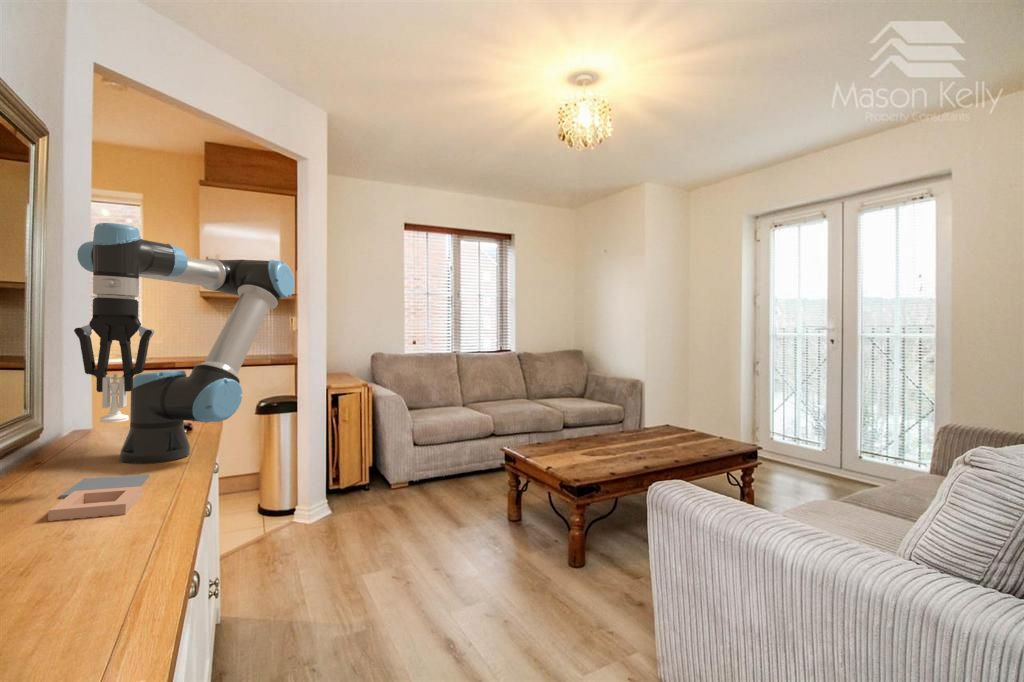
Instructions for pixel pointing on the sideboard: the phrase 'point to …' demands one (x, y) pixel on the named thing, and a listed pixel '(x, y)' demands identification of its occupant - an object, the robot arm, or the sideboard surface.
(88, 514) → the pocket holder
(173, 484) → the sideboard surface
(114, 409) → the chess piece
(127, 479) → the mat
